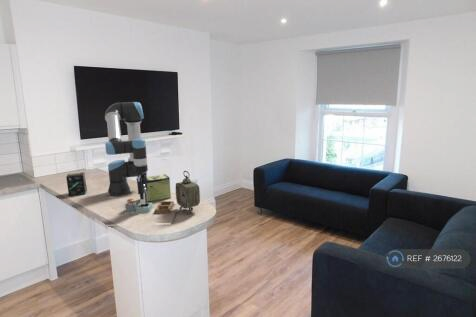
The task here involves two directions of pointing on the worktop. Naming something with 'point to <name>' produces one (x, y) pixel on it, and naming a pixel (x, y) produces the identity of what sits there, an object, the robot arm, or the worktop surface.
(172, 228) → the worktop surface
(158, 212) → the tray
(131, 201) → the release plunger
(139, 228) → the worktop surface
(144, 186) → the dark grey cylinder
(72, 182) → the tampon box
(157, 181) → the protein box
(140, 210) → the socket block
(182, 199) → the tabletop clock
